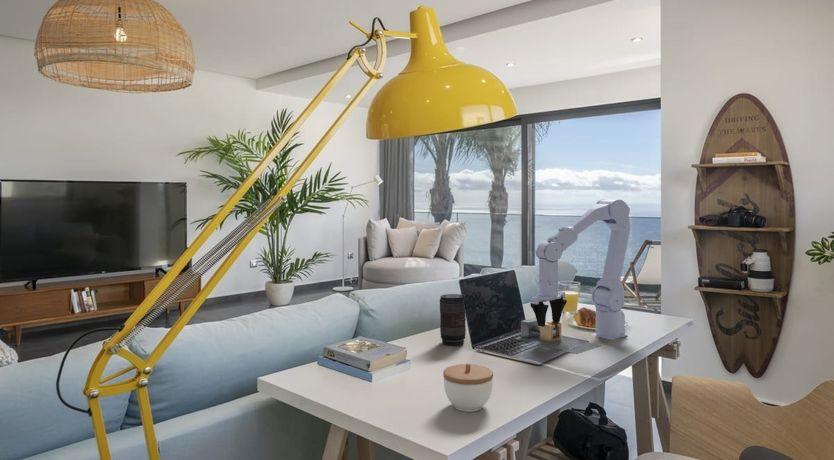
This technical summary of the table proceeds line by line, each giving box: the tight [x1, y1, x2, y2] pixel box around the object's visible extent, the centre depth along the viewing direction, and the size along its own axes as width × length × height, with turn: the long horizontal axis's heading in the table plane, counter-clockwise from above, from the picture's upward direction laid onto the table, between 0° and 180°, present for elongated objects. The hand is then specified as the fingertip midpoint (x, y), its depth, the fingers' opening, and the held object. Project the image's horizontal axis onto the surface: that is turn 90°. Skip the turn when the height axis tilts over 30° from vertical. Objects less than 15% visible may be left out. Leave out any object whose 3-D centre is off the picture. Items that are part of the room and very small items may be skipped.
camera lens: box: [439, 293, 467, 347], centre depth 168 cm, size 8×8×15 cm
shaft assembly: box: [520, 317, 557, 339], centre depth 170 cm, size 7×10×5 cm, turn 40°
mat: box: [513, 336, 602, 355], centre depth 166 cm, size 13×23×1 cm, turn 40°
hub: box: [540, 320, 562, 343], centre depth 167 cm, size 5×4×5 cm
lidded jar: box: [442, 362, 494, 413], centre depth 117 cm, size 11×11×9 cm
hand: (548, 323), depth 168 cm, fingers open, 7 cm apart
